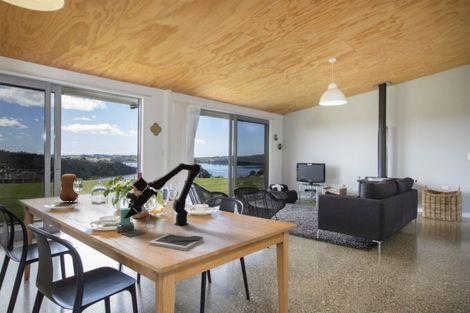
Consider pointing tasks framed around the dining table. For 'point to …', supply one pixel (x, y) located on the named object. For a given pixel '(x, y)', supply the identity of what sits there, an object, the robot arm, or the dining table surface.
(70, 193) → the butternut squash
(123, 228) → the grey holder
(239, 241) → the dining table surface
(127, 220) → the teal block
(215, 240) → the dining table surface
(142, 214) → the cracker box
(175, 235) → the picture frame
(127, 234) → the dark grey pad
